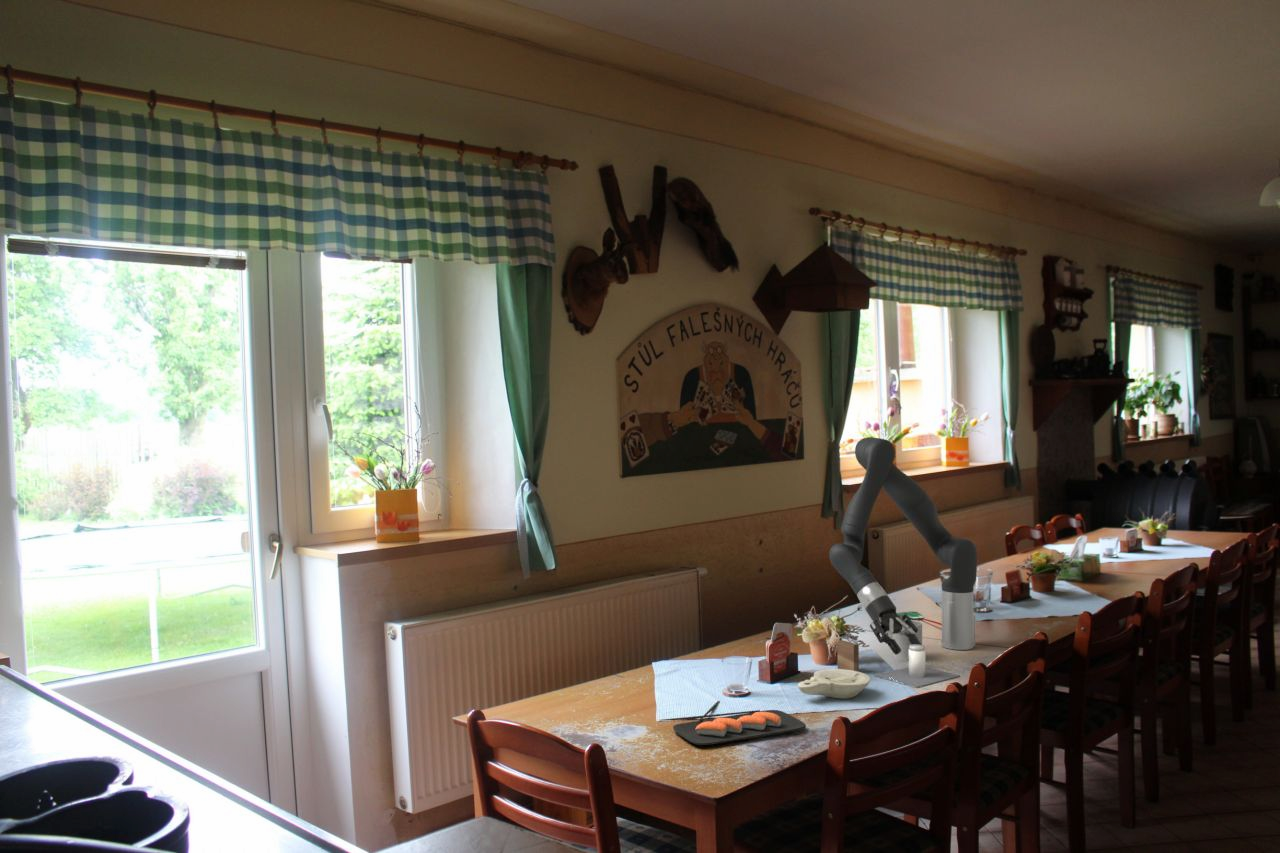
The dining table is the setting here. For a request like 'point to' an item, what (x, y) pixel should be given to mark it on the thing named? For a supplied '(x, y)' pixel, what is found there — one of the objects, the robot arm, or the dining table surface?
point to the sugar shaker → (917, 660)
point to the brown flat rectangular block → (848, 655)
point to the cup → (906, 642)
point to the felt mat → (930, 677)
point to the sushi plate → (736, 726)
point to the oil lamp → (835, 683)
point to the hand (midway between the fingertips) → (909, 650)
